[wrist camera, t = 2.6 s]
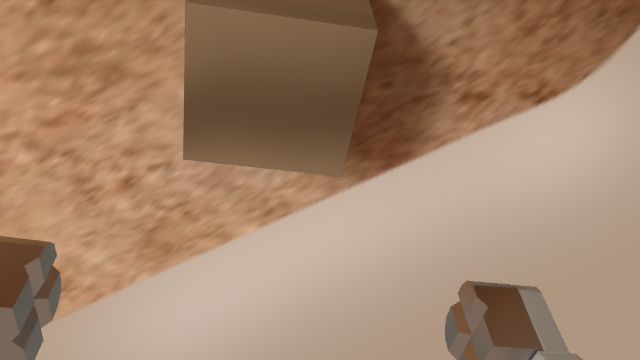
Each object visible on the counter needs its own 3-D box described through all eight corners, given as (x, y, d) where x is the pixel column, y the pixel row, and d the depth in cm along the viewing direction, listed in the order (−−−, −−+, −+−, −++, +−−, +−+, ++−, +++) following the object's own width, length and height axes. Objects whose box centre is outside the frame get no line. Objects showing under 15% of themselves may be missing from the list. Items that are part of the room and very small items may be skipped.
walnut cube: (209, -57, 17) (185, 2, 14) (360, -32, 18) (378, 30, 14) (203, 80, 21) (183, 159, 17) (332, 96, 21) (341, 176, 17)
